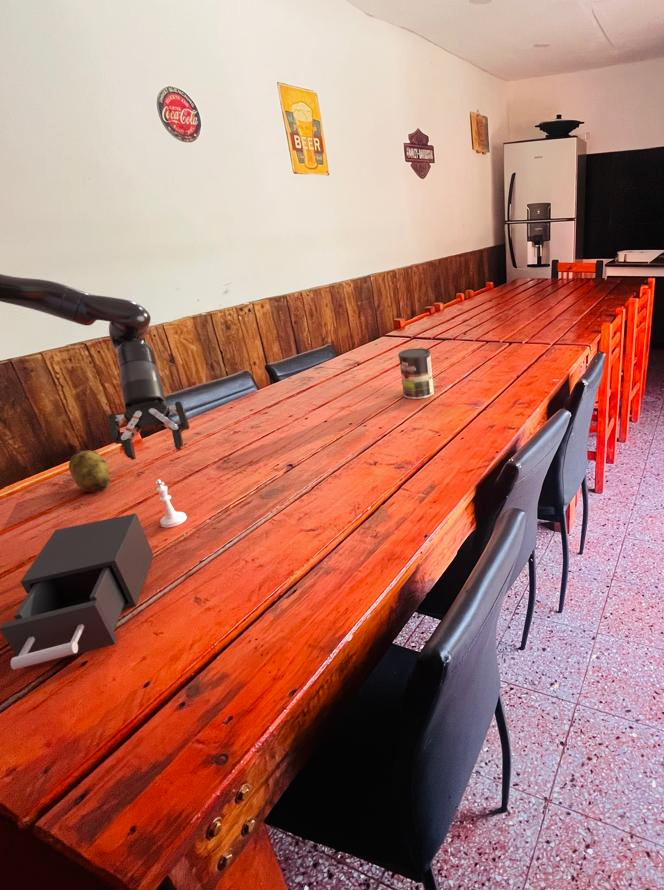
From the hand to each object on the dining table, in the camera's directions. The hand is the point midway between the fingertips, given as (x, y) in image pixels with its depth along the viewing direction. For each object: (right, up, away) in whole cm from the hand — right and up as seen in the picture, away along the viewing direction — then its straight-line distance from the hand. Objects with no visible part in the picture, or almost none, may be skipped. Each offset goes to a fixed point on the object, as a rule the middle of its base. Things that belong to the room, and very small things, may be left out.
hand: (155, 453), depth 108 cm
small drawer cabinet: (+3, -23, -18) cm, 30 cm away
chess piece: (+4, -14, 0) cm, 15 cm away
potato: (-25, -8, +16) cm, 31 cm away
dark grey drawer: (+7, -28, -29) cm, 41 cm away
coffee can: (+48, +19, +62) cm, 81 cm away
